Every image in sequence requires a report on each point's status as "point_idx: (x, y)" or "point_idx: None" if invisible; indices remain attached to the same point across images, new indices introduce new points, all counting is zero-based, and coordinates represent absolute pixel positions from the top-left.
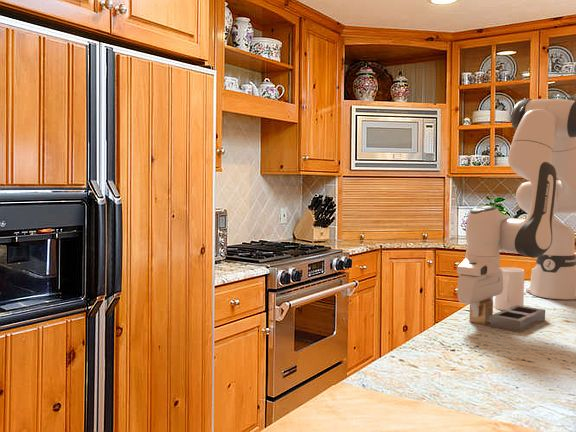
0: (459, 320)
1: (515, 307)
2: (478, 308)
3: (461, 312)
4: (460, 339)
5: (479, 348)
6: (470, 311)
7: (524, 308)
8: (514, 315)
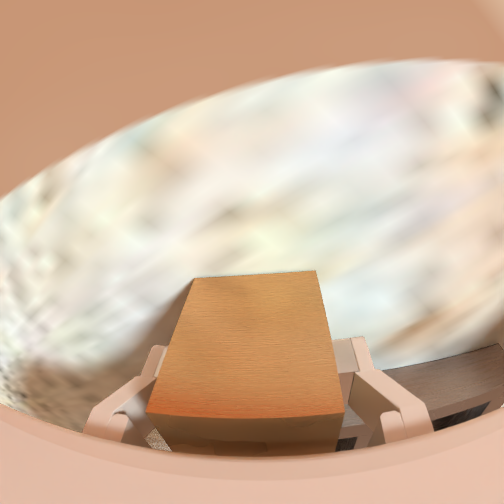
0: (167, 210)
1: (475, 404)
2: (150, 423)
3: (419, 79)
4: (5, 355)
5: (22, 401)
6: (177, 333)
7: (478, 414)
8: (349, 444)
